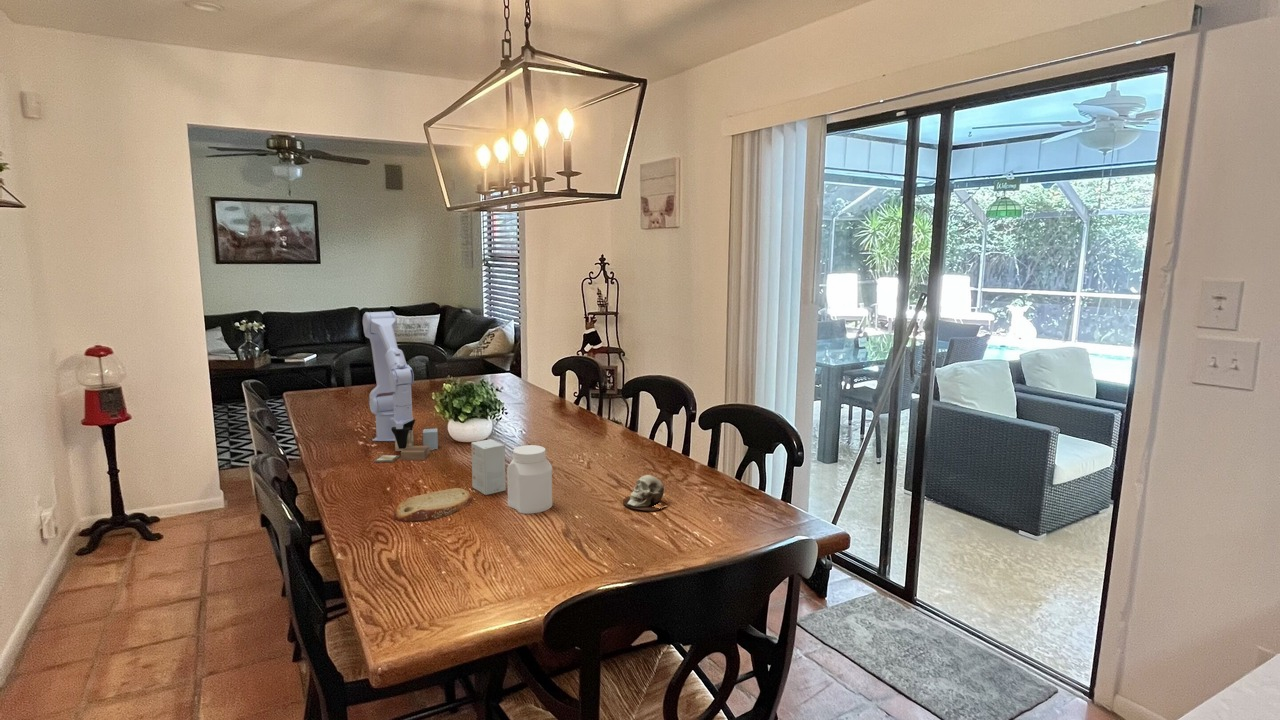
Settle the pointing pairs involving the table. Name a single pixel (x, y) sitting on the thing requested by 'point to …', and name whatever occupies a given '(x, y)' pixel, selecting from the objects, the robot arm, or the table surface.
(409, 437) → the maple block
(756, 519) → the table surface
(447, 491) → the slice of bread
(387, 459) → the swatch tile
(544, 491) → the jar
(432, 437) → the slate block
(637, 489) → the skull
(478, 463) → the small box
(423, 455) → the walnut block
